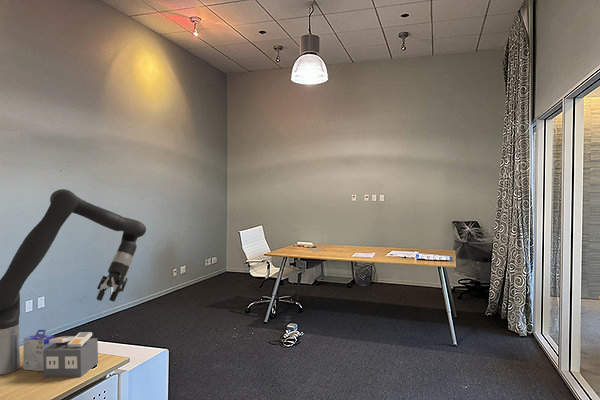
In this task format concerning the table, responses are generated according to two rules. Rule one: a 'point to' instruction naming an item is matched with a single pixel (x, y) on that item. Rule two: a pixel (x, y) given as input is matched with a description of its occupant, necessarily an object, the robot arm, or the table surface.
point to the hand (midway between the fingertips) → (105, 300)
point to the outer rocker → (80, 339)
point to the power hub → (70, 359)
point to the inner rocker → (61, 339)
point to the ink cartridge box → (35, 350)
